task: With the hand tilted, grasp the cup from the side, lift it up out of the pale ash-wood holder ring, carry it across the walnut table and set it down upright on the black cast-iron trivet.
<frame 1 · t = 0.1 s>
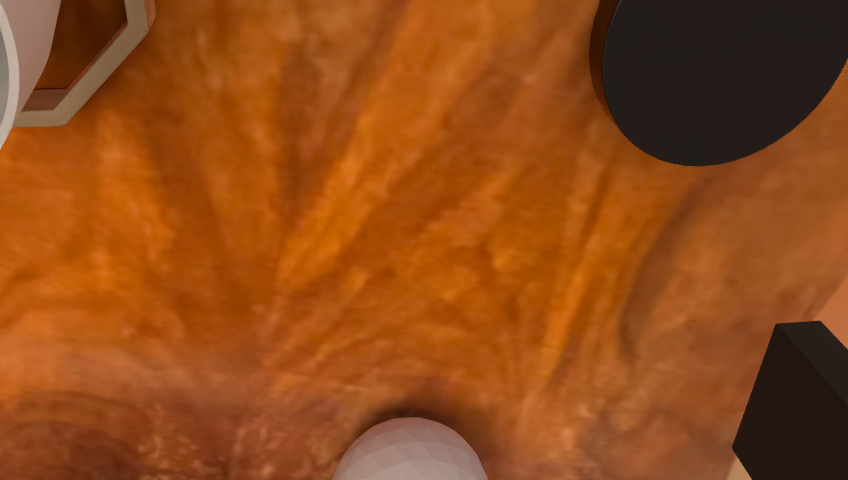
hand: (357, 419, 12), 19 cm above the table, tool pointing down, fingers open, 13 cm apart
trivet: (713, 33, 30), on the table
perfume bottle: (393, 456, 40), on the table
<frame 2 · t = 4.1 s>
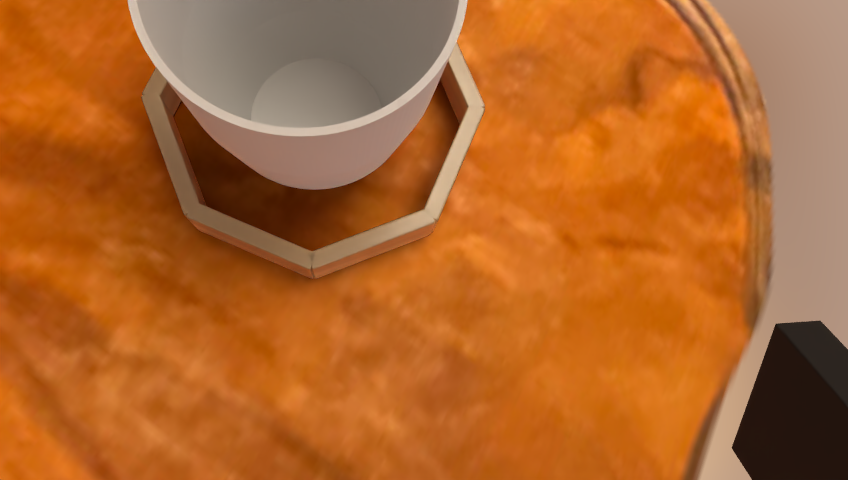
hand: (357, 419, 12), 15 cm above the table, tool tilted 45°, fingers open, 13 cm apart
holder ring: (319, 121, 28), on the table
cup: (319, 123, 28), resting in holder ring
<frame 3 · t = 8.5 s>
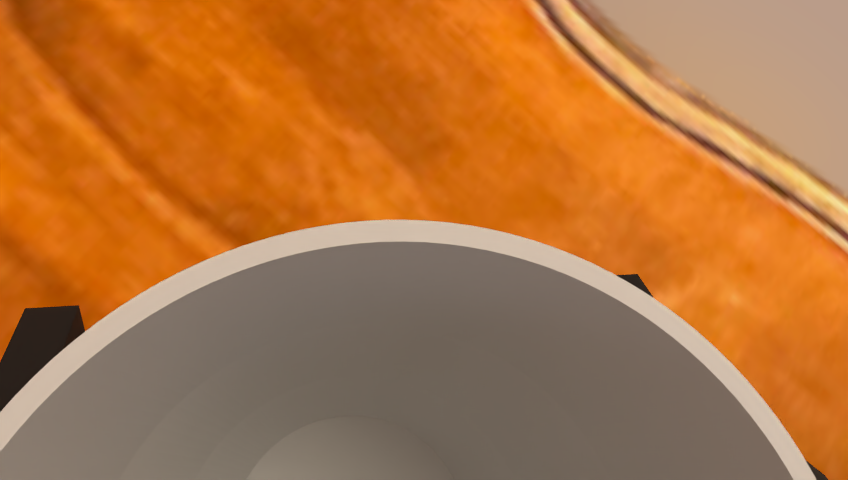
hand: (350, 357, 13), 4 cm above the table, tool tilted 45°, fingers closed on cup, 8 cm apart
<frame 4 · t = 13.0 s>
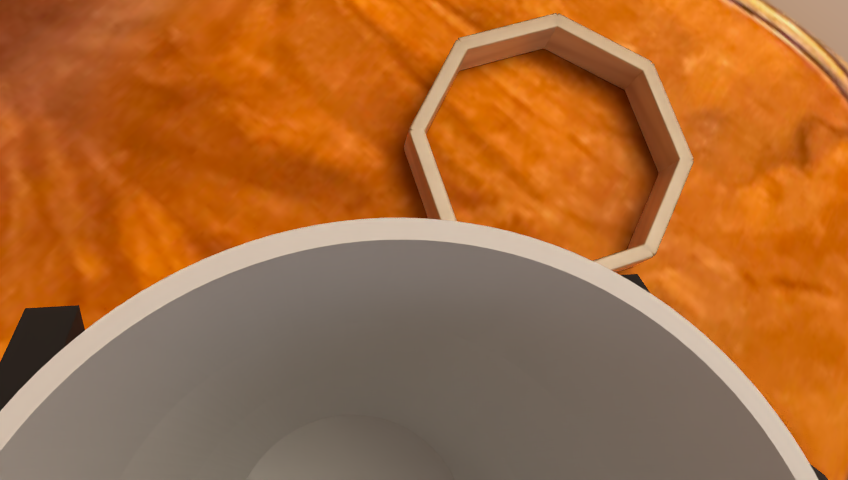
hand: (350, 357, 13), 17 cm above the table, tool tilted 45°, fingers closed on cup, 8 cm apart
holder ring: (540, 161, 32), on the table
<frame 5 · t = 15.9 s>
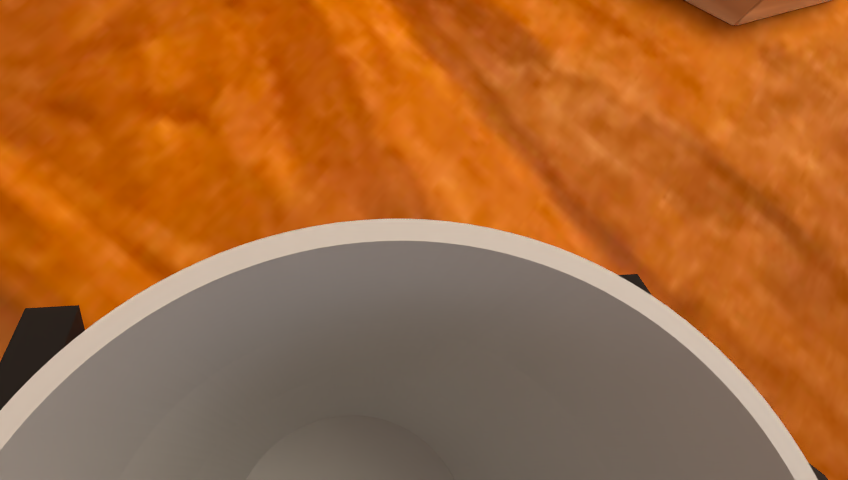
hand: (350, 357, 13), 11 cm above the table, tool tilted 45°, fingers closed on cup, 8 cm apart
when the fingers open (5 cm above the table, at t = 17.9 s): cup stays where it is, resting on trivet.
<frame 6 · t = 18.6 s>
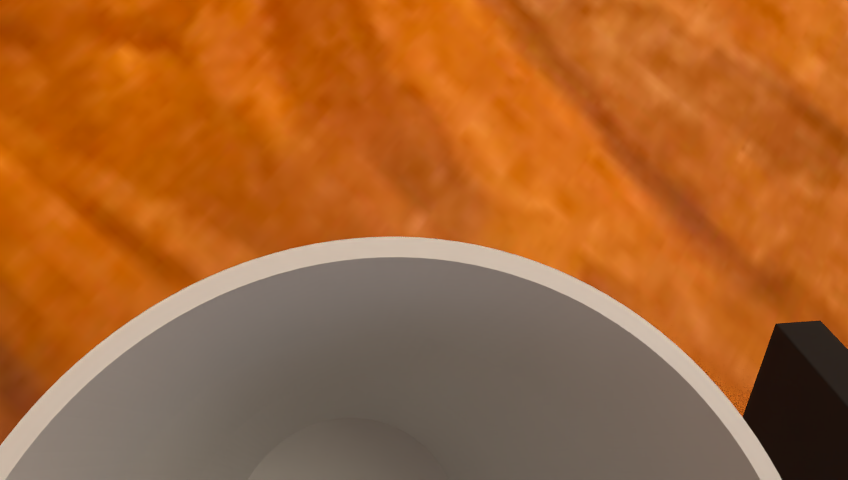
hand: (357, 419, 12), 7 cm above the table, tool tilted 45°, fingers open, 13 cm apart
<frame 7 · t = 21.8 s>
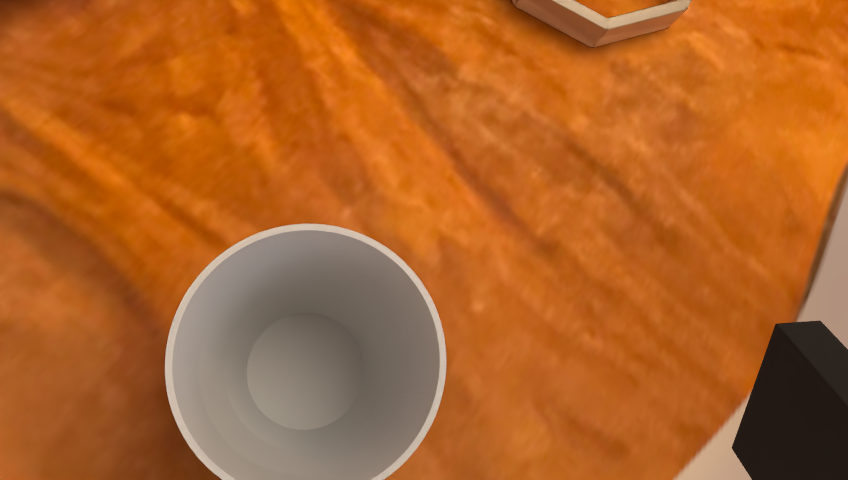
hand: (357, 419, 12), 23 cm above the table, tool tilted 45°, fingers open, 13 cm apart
cup: (306, 371, 32), point 1 cm above the table, touching trivet
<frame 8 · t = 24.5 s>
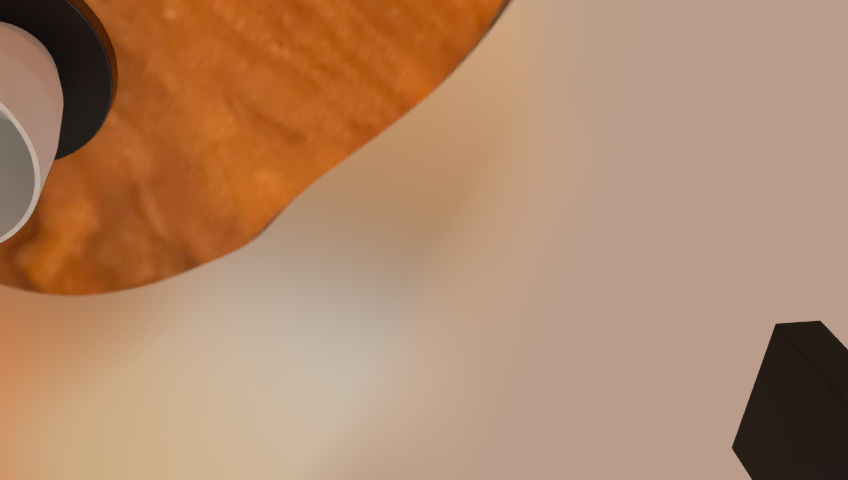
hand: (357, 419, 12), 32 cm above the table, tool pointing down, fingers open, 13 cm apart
trivet: (12, 61, 39), on the table
cup: (4, 71, 38), point 1 cm above the table, touching trivet
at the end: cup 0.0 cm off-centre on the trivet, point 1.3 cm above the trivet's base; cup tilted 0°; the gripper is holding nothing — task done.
